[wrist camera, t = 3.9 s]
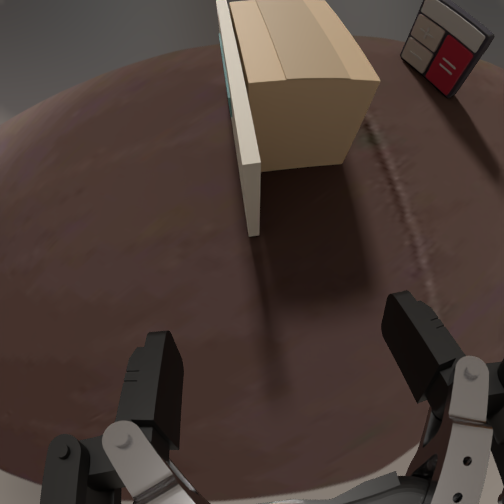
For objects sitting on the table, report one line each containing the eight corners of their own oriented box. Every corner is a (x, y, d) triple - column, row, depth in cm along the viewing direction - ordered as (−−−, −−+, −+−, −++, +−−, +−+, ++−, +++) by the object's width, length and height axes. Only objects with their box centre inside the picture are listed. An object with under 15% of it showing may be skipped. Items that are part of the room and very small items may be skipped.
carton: (342, 164, 30) (381, 80, 18) (252, 173, 30) (248, 81, 17) (310, 78, 34) (325, -1, 21) (236, 84, 34) (229, 0, 21)
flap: (259, 235, 28) (260, 162, 15) (247, 237, 28) (239, 165, 15) (233, 82, 33) (225, -2, 21) (224, 83, 33) (214, 0, 21)
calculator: (396, 57, 36) (424, -10, 21) (409, 52, 37) (436, -10, 22) (446, 100, 34) (488, 37, 19) (456, 94, 34) (495, 35, 20)
